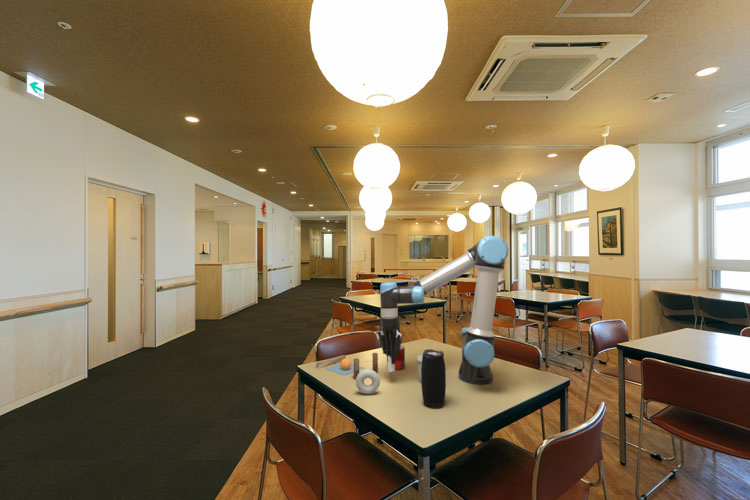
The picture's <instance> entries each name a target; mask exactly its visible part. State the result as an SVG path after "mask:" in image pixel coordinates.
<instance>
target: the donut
mask: <svg viewBox="0 0 750 500" xmlns="http://www.w3.org/2000/svg"><path fill="white" fill-rule="evenodd" d="M380 378H381V377H380V376H379V374H378V373H376V372H375V371H373V369H369V368H367V369H362V370H361V371H359V374H358V375H357V377H356V380H355V386H356V388H357V390H358V391H359V392H360V393H362V394H364V395H372V394H374V393H376V392H377V391H378V390H379V387H380V384H381V379H380ZM365 379H370V380H371V384H369V385H367V384H365Z"/></svg>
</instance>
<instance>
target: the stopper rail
mask: <svg viewBox="0 0 750 500" xmlns="http://www.w3.org/2000/svg"><path fill="white" fill-rule="evenodd" d="M345 358H346V355H339V356H336V357H331V358H328V359H325V360H321V361H317V362H316V364H315V365H316V366H315V368H316V369H321V368H325V367H330V366H332V365H335V364H340V363H341V361H342V360H343V359H345Z"/></svg>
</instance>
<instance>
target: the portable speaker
mask: <svg viewBox="0 0 750 500" xmlns="http://www.w3.org/2000/svg"><path fill="white" fill-rule="evenodd" d="M422 353H423V356H422V366H421V383H420V384H421V394H422V401H423V405H427V406H430V407H431V409H433V410H434V409H435V410H436V409H441V408H442V407H443V405H444V404H445V402H446V401H445V399H446V388H447V387H446V386H447V382H446V380H447V379H446V376H447V375H446V373H447V372H446V365H445V363H446V362H445V356H444V355H445V353H444V351H442V350H435V349H430V348H429V349H425V350H424V351H423V352H422Z"/></svg>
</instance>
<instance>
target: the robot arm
mask: <svg viewBox="0 0 750 500" xmlns="http://www.w3.org/2000/svg"><path fill="white" fill-rule="evenodd" d="M508 256H509V246H508V244H507V242H506V240H504V239H503V238H502V237H500V236H496V235H487V236H485V237H483V238H482V239H481V240H479V241H478V242H477V243H476V244H475V245H473V246H472V247H470V248H469V249H467V250H466V251H465V253H464V254H463V255H461V256H459V257H458V258H455V259H454V260H452V261H450V262H449V263H447V264H445V265H443V266H442V267H440V268H437V269H436V270H435V271H433V272H431V273H429V274H428V275H426V276H423V277H422V278H420V279H419V280H417V281H415V282H413V283H411V284H409V285H408V286H398V285H397V282H382V283H381V284H380V285H379V286H380V288H379V289H380V290H379V298H380V318H381V319H380V320H381V321H380V323H381V324H380V325H381V326H382V328H381V330H380V331H377V332H378V333H377V334H378V336H379V340H380V344H381V349H382V353H383V355H386V363H387V365H388V369H387V371H388V372H390V373H392V372H395V371H396V370H395V363H396V356H397V355H399V352H400V346H401V345H402V339H403V337H404V334H402V333H400V332H399V329H398V327H399V318H398V316H399V313H398V311H399V309H398V307H399V306H398V305H399V304H402V305H404V304H405V305H406V304H408V305H409V304H410V305H411V304H412V305H413V304H414V305H418V304H424V303H425V296H426V295H427V294H429V293H431V292H433V291H435V290H436V289H438V288H441V287H442V286H444V285H446V284H448V283H449V282H452V281H453V280H455V279H456V278H459V277H461V276H462V275H464V274H466V273H468V272H470V271H471V270H473V269H476V270H477V276H476V283H475V290H474V297H473V305H472V313H471V319H470V325H469V327H463V328H462V329H461V363H460V366H459V369H458V379H459V380H461V381H463V382H465V383H469V384H472V385H473V384H474V385H486V384H490V383H493V381H494V375H493V372H492V368H491V364H492V362H493V360H494V359H495V348H494V346H495V345H494V343H495V339H496V334H495V333H494V331H493V323H494V315H495V307H496V301H497V294H498V287H499V286H498V285H499V279H500V278H499V277H500V274H501V273H502V272H503V271H504V270H505V265H506V264H505V263H506V259H507V258H508Z"/></svg>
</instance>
